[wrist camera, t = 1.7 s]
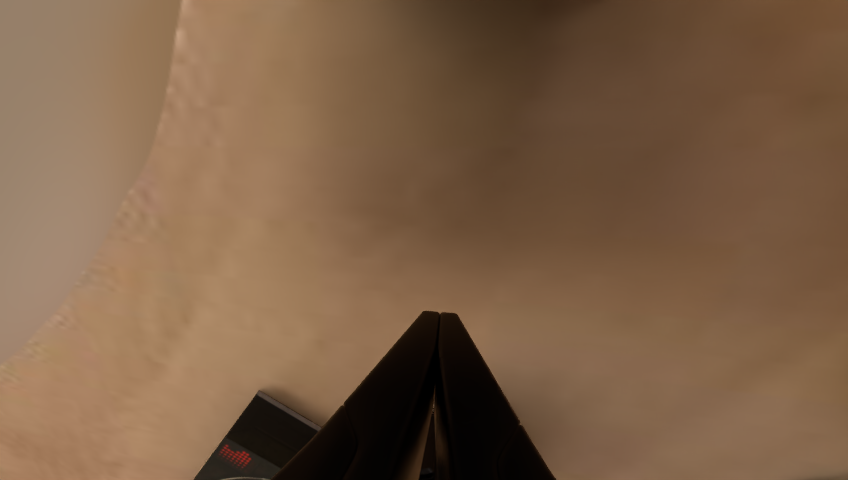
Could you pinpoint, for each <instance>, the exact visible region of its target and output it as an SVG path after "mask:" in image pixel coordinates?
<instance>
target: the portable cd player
mask: <svg viewBox="0 0 848 480" xmlns="http://www.w3.org/2000/svg"><path fill="white" fill-rule="evenodd" d="M320 429H321V427H319V426H318V425H316V424H314V423H313V422H311V421H309V420H308V419H306V418H304V417H303V416H301V415H299V414H298V413H296V412H294V411H293V410H291V409H289V408H288V407H286V406H284V405H282V404H281V403H279V402H277V401H276V400H274V399H272V398H271V397H269V396H267V395H266V394H264V393H262V392H261V391H258V393H257V394H256V395H255V397H254V398H253V400H252V401H251V402H250V404H249V405H248V406H247V408H246V409H245V410H244V412H243V413H242V415H241V416H240V417H239V419H238V420H237V421H236V423H235V424H234V425H233V427H232V428H231V429H230V431H229V432H228V434H227V435H226V436H225V438H224V439H223V440H222V442H221V443H220V444H219V446H218V447H217V449H216V450H215V451H214V453H213V454H212V455H211V457H210V458H209V459H208V461H207V462H206V463H205V465H204V466H203V468H202V469H201V470H200V472H199V473H198V474H197V476H196V477H195V478H194V480H270V479H271V478H272V477H273V476H274V475H275V474H276V473H278V472H279V471H280V470H281V469H282V468H283V467H284V466H285V465H286V464H287V463H288V462H289V461H290V460H291V459H292V458H293V457H294V456H295V455H296V454H297V453H298V452H299V451H300V450H301V449H302V448H303V447H304V446H305V445H306V444H307V443H308V442H309V441H310V440H311V439H312V438H313V437H314V436H315V435H316V434H317V433H318V431H319V430H320Z"/></svg>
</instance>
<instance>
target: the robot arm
mask: <svg viewBox="0 0 848 480" xmlns="http://www.w3.org/2000/svg"><path fill="white" fill-rule="evenodd" d="M434 393H435V397H434ZM433 403H434V413H433V414H432V409H433ZM270 480H556V478H555V477H554V476H553V474H552V473H551V471H550V470H549V468H548V467H547V465H546V463H545V462H544V460H543V459H542V457H541V455H540V454H539V452H538V451H537V449H536V447H535V446H534V444H533V443H532V441H531V439H530V437H529V436H528V434H527V432H526V431H525V429H524V427H523V426H522V425H520V421H519V419H518V417H517V415H516V414H515V412H514V410H513V409H512V407H511V405H510V404H509V402H508V400H507V398H506V397H505V395H504V393H503V392H502V390H501V388H500V387H499V385H498V383H497V381H496V380H495V378H494V376H493V375H492V373H491V371H490V369H489V368H488V366H487V364H486V363H485V361H484V359H483V358H482V356H481V354H480V352H479V351H478V349H477V347H476V346H475V344H474V342H473V340H472V339H471V337H470V335H469V334H468V332H467V330H466V329H465V327H464V325H463V323H462V322H461V320H460V318H459V317H458V315H457V314H456V313H446V312H442V313H441V314H439V312H434V311H423V312H422V313H421V314H420V316H419V317H418V318H417V319H416V320H415V321H414V323H413V324H412V325H411V326H410V327H409V328H408V329H407V331H406V332H405V333H404V334H403V335H402V336H401V338H400V339H399V340H398V341H397V342H396V343H395V344H394V346H393V347H392V348H391V349H390V350H389V351H388V353H387V354H386V355H385V356H384V357H383V358H382V360H381V361H380V362H379V363H378V364H377V365H376V366H375V368H374V369H373V370H372V371H371V372H370V373H369V375H368V376H367V377H366V378H365V379H364V380H363V381H362V383H361V384H360V385H359V386H358V387H357V388H356V390H355V391H354V392H353V393H352V394H351V395H350V396H349V398H348V399H347V400H346V401H345V402H344V406H341V407H340V408H339V409H338V410H337V411H336V412H335V414H334V415H333V416H332V417H331V418H330V419H329V421H328V422H327V423H326V424H325V425H324V426H323V427H322V428H321V429H320V430H319V431H318V433H317V434H316V435H315V436H314V437H313V438H312V439H311V440H310V441H309V442H308V443H307V444H306V445H305V446H304V447H303V448H302V449H301V450H300V451H299V452H298V453H297V454H296V455H295V456H294V457H293V458H292V459H291V460H290V461H289V462H288V463H287V464H286V465H285V466H284V467H283V468H282V469H281V470H280V471H279V472H278V473H276V474H275V475H274V476H273V477H272V478H271V479H270Z"/></svg>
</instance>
